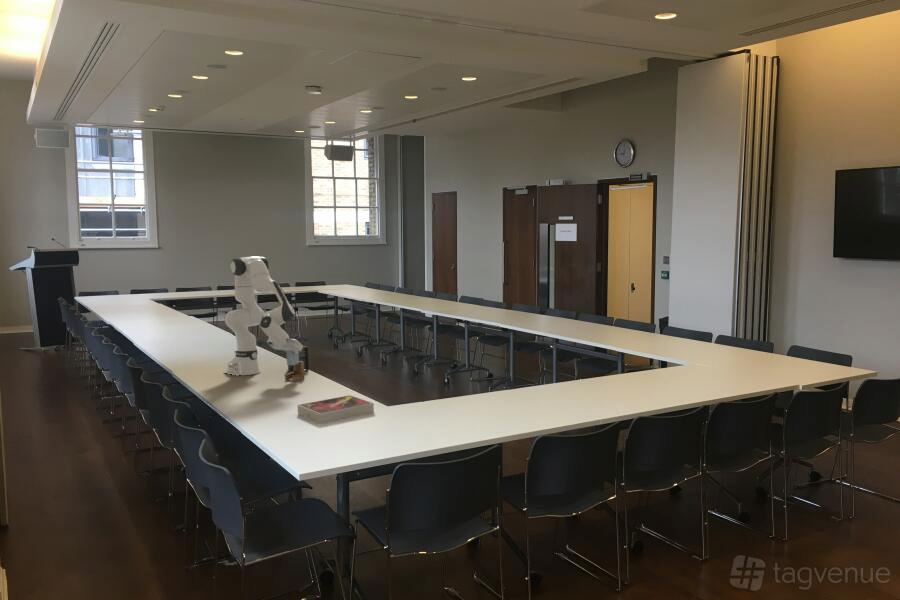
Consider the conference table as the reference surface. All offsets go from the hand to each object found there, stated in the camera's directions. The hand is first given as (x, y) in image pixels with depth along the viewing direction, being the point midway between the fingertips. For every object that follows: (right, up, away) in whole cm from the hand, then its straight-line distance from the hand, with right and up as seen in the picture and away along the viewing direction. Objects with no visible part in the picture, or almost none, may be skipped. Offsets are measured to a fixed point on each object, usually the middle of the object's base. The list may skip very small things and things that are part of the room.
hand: (293, 353), depth 408 cm
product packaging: (+36, -24, -72) cm, 84 cm away
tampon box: (-3, -13, +30) cm, 32 cm away
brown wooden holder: (0, -15, +2) cm, 16 cm away
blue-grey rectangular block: (0, -6, 0) cm, 6 cm away
